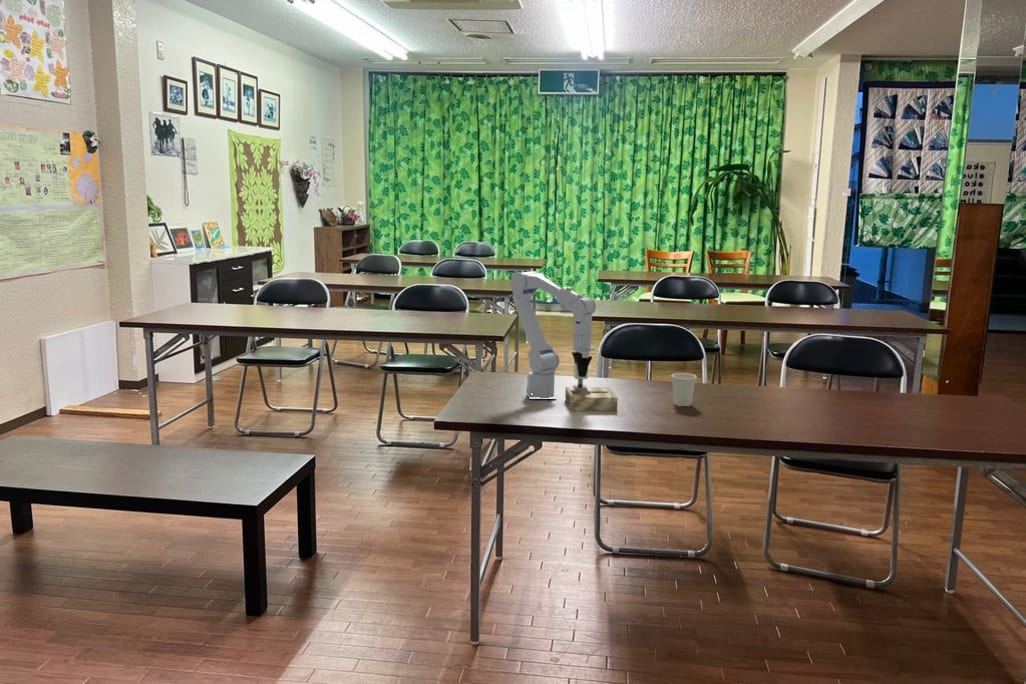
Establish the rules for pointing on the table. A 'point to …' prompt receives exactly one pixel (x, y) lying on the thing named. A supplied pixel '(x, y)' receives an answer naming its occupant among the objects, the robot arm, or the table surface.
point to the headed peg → (579, 379)
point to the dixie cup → (683, 388)
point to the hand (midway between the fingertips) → (581, 375)
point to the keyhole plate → (592, 399)
